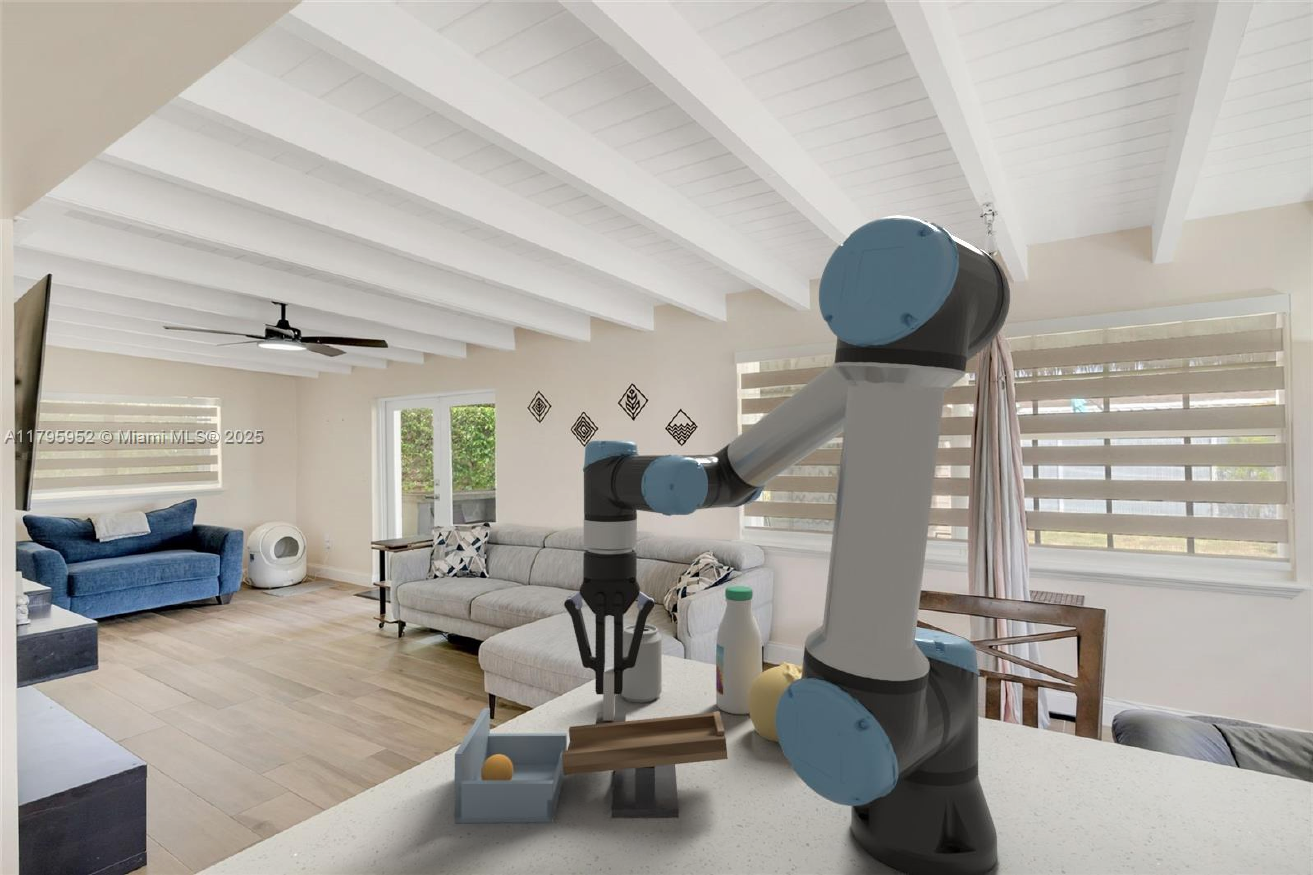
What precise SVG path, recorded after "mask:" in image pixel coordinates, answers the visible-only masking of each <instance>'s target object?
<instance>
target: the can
mask: <svg viewBox="0 0 1313 875" xmlns="http://www.w3.org/2000/svg"><path fill="white" fill-rule="evenodd" d="M635 625H636V624H631V625H627V626H623V658H624V657H627V656H628V653H629V649H630V645H631V641H632V637H633V633H634V629H635ZM658 631H659V629H658V627H657V626H654V625H652V624H647V623H645V627H644V631H643V635H642V639H641V643H640V647H639V651H638V655H637V659H636V663H635V666H634V667H633V668H627V669H625V670H624V671H623V690H622V693H621V694H620V695H621V696H622V697H623V698H624V699H625V700H626V701H628V702H632V703H649V702H652V701H654V700H656V699H657V697H659V696H660V695H661V693H662V691H663V690H662V689H663V688H662V687H663V686H662V683H663V682H662V680H663V679H662V676H663V674H662V670H663V669H662V663H663V662H662V661H663V660H662V658H663V657H662V656H663V655H662V648H663V647H662V644H663V643H662V642H663V640H662V638H663V637H662V636H661V634H660V633H659V632H658Z"/></svg>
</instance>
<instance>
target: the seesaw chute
mask: <svg viewBox="0 0 1313 875" xmlns="http://www.w3.org/2000/svg"><path fill="white" fill-rule="evenodd" d="M626 713H627V712H626V708H622V709H621V708H620V709H615V715H614V721H603V710H602V711H597V716H596V718H595V723H593V724H585V725H574V726H573V725H572V726H569V728H568V735H569V743H568V745H567V750H566V751H563V752H562V763H563V774H564V775H565V776H571V775H580V774H591V773H599V772H601V773H602V772H612V771H615V770H622V769H632V768H642V767H652V766H662V765H672V764H675V765H680V764H681V765H682V764H690V763H692V764H693V763H702V762H712V761H721V760H722V761H723V760H728V748H727V737H726V733H725V727H724V724H723V720H722V717H721V713H720V711H713V712H706V713H695V714H685V715H683V714H682V715H675V716H666V717H656V718H655V717H654V718H644V719H643V718H642V719H633V720H626V718H627V714H626Z"/></svg>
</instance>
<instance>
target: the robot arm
mask: <svg viewBox="0 0 1313 875" xmlns="http://www.w3.org/2000/svg"><path fill="white" fill-rule="evenodd" d="M818 302H819V303H818V304H819V311H820V313H821V316H822V319H823V320H824V321H825V322H826V323H827V324H826V325H827V326H828V327H829V329H830V331H831V332H832V334H834V335H835V336H836V346H835V354H834V355H835V356H834V363H833V364H831V365H829V367H827V368H826V369H825V370H824V371H822V372H821V373H819V374H818V375H817V376H816V377H814V378H813V379H812V380H810V381H809V382H807V384H805V385H803V387H801V388H800V389H799V390H797V391H796V392H794V393H793V394H792V395H791V396H789V397H788V398H787V399H786V400H784V401H783V402H782V403H780V404H779V405H777V406H776V407H775V408H773V410H771V411H770V412H768V414H766V415H764V416H763V417H762V418H761V419H759V420H758V421H757V422H755V423H754V424H753V425H751V426H750V427H749V428H748V429H746V430H745V431H744V432H742V433H741V434H740V435H738V436H737V437H736V438H735V439H734V440H732V441H731V442H730V443H728V444H727V445H725V446H724V447H723V448H721V449H720V450H718V451H716V452H715V453H713V454H694V455H693V454H691V455H690V454H688V455H686V454H682V455H681V454H674V455H671V454H664V455H661V454H660V455H657V454H655V455H653V454H652V455H651V454H648V455H647V454H646V455H639V453H638V445H637V443H636V442H635V441H634V440H591V441H589V442H588V443H587V444H586V445H585V448H584V460H583V461H584V465H583V468H582V472H583V515H584V516H583V547H585V548H586V550H585V551H584V552H583V569H582V570H583V572H582V573H583V576H582V583H581V585H580V587H579V591H578V592H576V593H575V594H573V595H572V596H571V595H569V596H567V598H566V599H565V600H564V602H563V603H564V604H563V606H564V608H565V609H566V611H567V612H568V614H569V616H570V617H571V622H572V625H573V630H574V634H575V638H576V642H577V647H578V650H579V655H580V659H581V664H582V666H583V668H584V669H591V670H593V671H594V673H595V682H594V683H595V690H594V691H595V694H596V695H603V696H602V697H603V698H602V699H603V700H602V701H603V706H602V707H603V708H602V711H603V721H614V715H615V710H616V707H615V706H616V695H621V693H622V690H623V671H624V670H625V669H627V668H633V667H634V666H635V663H636V659H637V655H638V651H639V647H640V643H641V639H642V635H643V631H644V627H645V624H647V618H648V616H649V615H650V613H651V612H652V610H653V609H654V608H655V598H654V597H653V596H651V595H649V596H648V595H646V594H645V593H644V592H642V591H641V587H640V585H639V583H638V580H637V574H638V573H637V564H638V563H637V561H638V560H637V558H638V557H637V554H638V553H637V552H636V550H635V549H634V548H636V547H637V539H638V538H637V537H638V536H637V530H638V528H637V527H638V522H637V521H638V519H637V518H638V513H637V511H641V512H648V513H656V514H661V515H663V516H669V517H670V516H687V515H691V514H693V513H695V512H696V511H697V510H706V509H717V508H718V509H720V508H739V507H740V506H741V507H742V506H743V505H747V504H748V505H749V504H751V503H753V502H755V501H757V500H758V499H759V498H760V496H761V494H762V492H763V490H764V488H765V486H766V484H768V483H769V482H770V481H772V480H773V479H775V478H776V477H778V476H779V475H780V474H783V473H784V472H786V471H787V470H788V469H790V468H791V467H793V466H794V465H796V464H798V463H799V462H800V461H801V460H804V459H805V458H807V457H808V456H809V455H811V454H813V453H814V452H816V451H817V450H818V449H820V448H821V447H823V446H825V445H826V444H828V443H829V442H831V441H832V440H834V439H835V438H837V437H838V436H839V435H842V434H843V435H842V444H841V453H840V454H841V455H840V461H839V462H840V463H839V472H838V483H837V489H836V490H837V492H836V501H835V509H834V517H833V518H834V519H833V520H834V522H833V528H832V529H833V530H832V539H831V546H830V556H829V564H828V574H827V575H828V576H827V584H826V593H825V602H824V613H823V621H822V624H821V625H820V626H819V627H818V628H816V629H815V630H813V631H812V632H810V633H809V634H808V635H807V637H805V642H804V650H803V657H802V665H801V666H802V675H801V679H798V680H795V681H794V682H793V683H792V684H790V685H789V686H788V687H787V689H786V690H785V691H784V692H783V693H782V695H781V696H780V698H779V700H778V703H777V707H776V713H775V724H776V731H777V736H778V739H779V742H778V743H779V746H780V747H781V750H782V752H783V754H784V755H783V756H784V757H785V758H786V759H787V760H788V761H789V762H790V764H791V765H792V769H793V771H794V773H795V774H796V775H797V776H798V777H799V779H800V780H801V781H803V783H804V784H805V785H806V786H807V787H808V788H809V789H811V791H813V792H815V793H816V794H817V795H819V796H820V797H821V798H823V799H826V800H828V801H829V802H832V803H835V804H838V805H842V806H848V807H851V815H850V816H851V818H850V819H851V821H850V823H851V826H850V827H851V831H852V834H853V836H854V839H855V840H856V841H857V843H858V844H859V845H860V846H861V848H863V849H864V850H865V851H866V852H867V853H868V854H870V855H871V856H873V858H875V859H877V860H879V861H880V862H882V863H884V864H886V865H888V866H890V867H891V868H893V869H896V870H899V871H901V872H904V873H908V874H910V875H984V874H986V873H988V872H989V871H990V870H991V869H992V868H993V867H995V865H996V863H997V860H998V835H997V834H998V833H997V829H996V826H995V824H994V820H993V817H992V815H991V811H990V809H989V808H990V807H989V805H988V802H987V799H986V797H985V794H984V789H983V788H982V784H981V781H980V776H979V677H980V674H981V672H980V670H979V669H978V668H979V666H978V655H977V650H976V648H975V646H974V645H973V643H971V642H970V641H969V640H968V639H965V638H964V637H961V636H958V635H955V634H953V633H948V632H944V631H941V630H934V629H930V628H923V627H918V625H917V624H918V620H919V619H918V618H919V609H920V600H921V593H922V583H923V574H924V566H925V558H926V551H927V542H928V534H929V524H930V519H931V518H930V517H931V510H932V508H931V507H932V499H933V494H934V493H933V491H934V485H935V476H936V475H935V474H936V468H937V460H938V451H939V441H940V434H941V432H940V431H941V423H942V417H943V407H944V399H945V394H946V392H947V391H948V390H949V389H950V388H951V387H952V386H953V385H955V384H956V383H957V382H959V381H960V380H961V379H962V378H964V377H965V374H966V369H967V362H968V361H970V360H971V359H972V358H973V359H974V357H975V356H977V355H978V354H979V353H981V352H982V351H983V350H984V349H986V347H987V346H989V345H990V344H991V343H992V342H993V341H994V339H995V338H996V337H997V335H998V334H999V332H1000V331H1001V329H1002V328H1003V326H1004V324H1005V322H1006V319H1007V317H1008V314H1009V311H1010V310H1009V309H1010V305H1011V304H1010V303H1011V290H1010V285H1009V280H1008V278H1007V276H1006V274H1005V272H1004V269H1003V268H1002V266H1001V265H1000V263H998V262H997V260H996V259H995V258H993V257H992V255H991V254H989V253H988V252H986V251H984V250H983V249H980V248H978V247H977V246H974V245H972V244H969V243H967V242H966V241H964V240H961V239H959V238H958V237H956V236H953V235H951V234H950V232H948V231H947V230H946V229H945V228H944V227H942V226H940V225H938V224H937V223H934V222H932V221H931V222H930V221H927V220H922V219H921V220H920V219H919V218H917V217H912V216H907V215H890V216H885V217H881V218H877V219H874V220H872V221H870V222H867V223H865V224H863V225H861V226H860V227H858V228H857V229H855V230H854V231H853V232H852V233H850V235H849V236H848V237H847V238H846V239H845V240H844V242H843V243H840V244H839V245H838V246H837V247H836V249H835V250H834V251H833V253H832V254H831V256H830V257H829V259H828V261H827V263H826V265H825V267H824V269H823V271H822V275H821V279H820V284H819V288H818ZM583 600H584V602H585V604H586V605H587V607H588V608H589V609H590V610H591V612H592V614H594V615H595V652H594V654H595V656H593V654H592V650H591V645H590V642H589V641H590V640H589V637H588V633H587V627H586V625H585V620H584V616H583V612H582V607H583ZM636 600H637V603H636V604H637V605H636V608H637V610H638V614H637V616H636V617H637V618H636V621H635V624H634V625H635V629H634V633H633V637H632V641H631V645H630V649H629V653H628V656H627V657H624V658H623V632H624V631H623V628H624V615H625V614H626V613H627V612H629V610H630V608H631V606H632V605H633V604H634V603H635V601H636ZM608 616H609V617H610V616H611V617H613V666H606V665H605V664H606V619H607V617H608Z"/></svg>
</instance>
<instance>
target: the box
mask: <svg viewBox="0 0 1313 875" xmlns="http://www.w3.org/2000/svg"><path fill="white" fill-rule="evenodd" d="M490 713H491V708H490V707H484V708H482V710H481V712H479V715H478V717H477V718H476V720H475V721H474V722H473V725H472V726H471V728H470V729H469V731H468V733H467V734H466V736H465V737H464V738H463V740H462V741H461V743H460V745H459V746H458V748H457V750H455V753H454V818H453V819H454V820H453V821H454V824H479V823H480V824H489V823H490V824H491V823H492V824H494V823H495V824H498V823H502V824H504V823H510V824H511V823H517V824H518V823H519V824H520V823H522V824H523V823H530V824H531V823H535V824H536V823H553V821H554V818H555V813H556V810H557V806H558V802H559V798H560V795H561V790H562V787H563V783H564V779H565V776H566V775H564V774H563V763H562V752H563V751H566V750H568V732H567V733H566V732H562V733H561V732H560V733H559V732H551V733H550V732H548V733H546V732H545V733H543V732H542V733H540V732H537V733H533V732H532V733H530V732H529V733H528V732H527V733H526V732H525V733H521V732H520V733H518V732H517V733H514V732H513V733H507V732H505V733H502V732H501V733H491V732H490V731H491V730H490V728H491V727H490V726H491V724H490V723H491V717H490V716H491V714H490ZM496 754H502V755H505V756H507V757H508V758H509V759H510V760H511V762H512V764H513V776H512V778H511V780H482V778H481V769H482V766H483V764H484V762H485V761H486V760H487V759H488V758H489V757H491V756H493V755H496Z"/></svg>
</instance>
